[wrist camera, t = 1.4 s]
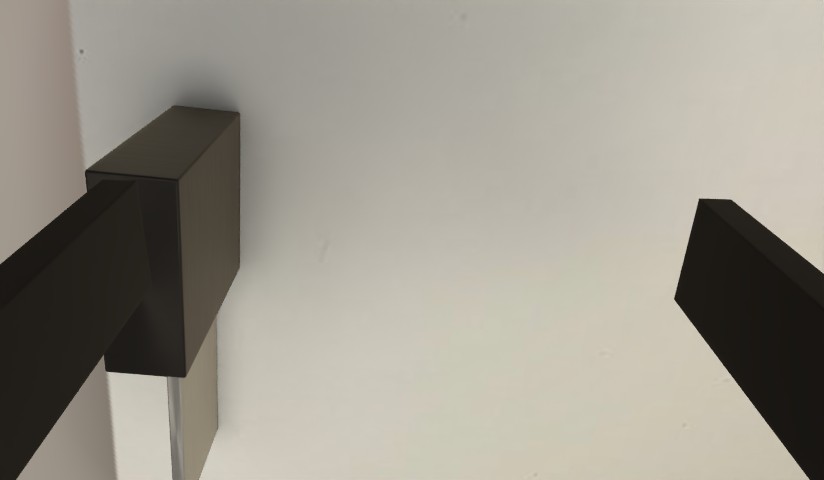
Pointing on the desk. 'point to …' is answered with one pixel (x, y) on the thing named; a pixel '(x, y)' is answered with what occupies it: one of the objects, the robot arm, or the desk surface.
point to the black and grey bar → (181, 264)
